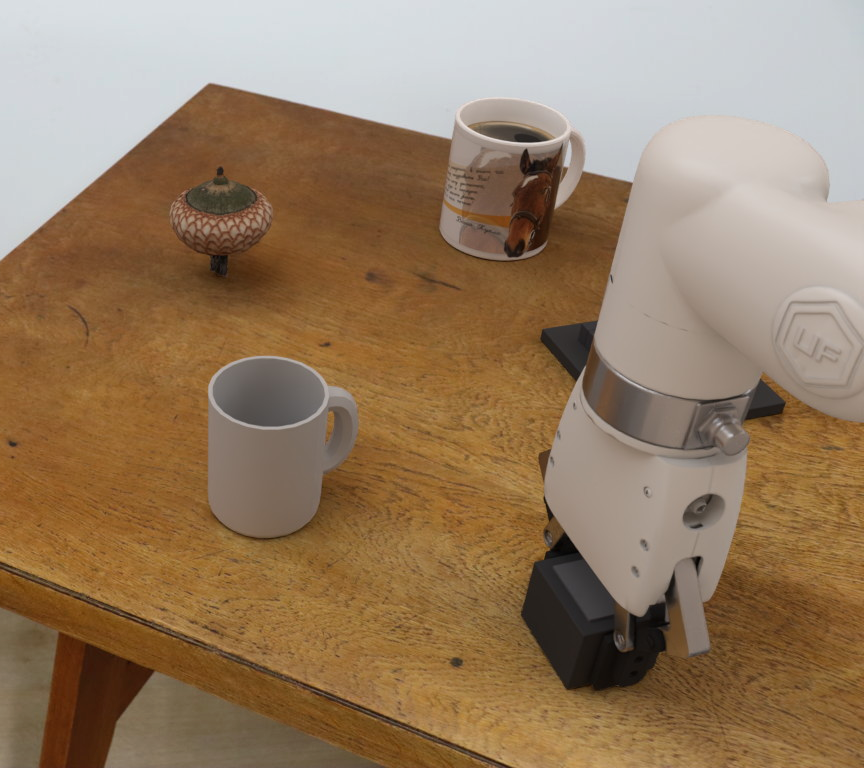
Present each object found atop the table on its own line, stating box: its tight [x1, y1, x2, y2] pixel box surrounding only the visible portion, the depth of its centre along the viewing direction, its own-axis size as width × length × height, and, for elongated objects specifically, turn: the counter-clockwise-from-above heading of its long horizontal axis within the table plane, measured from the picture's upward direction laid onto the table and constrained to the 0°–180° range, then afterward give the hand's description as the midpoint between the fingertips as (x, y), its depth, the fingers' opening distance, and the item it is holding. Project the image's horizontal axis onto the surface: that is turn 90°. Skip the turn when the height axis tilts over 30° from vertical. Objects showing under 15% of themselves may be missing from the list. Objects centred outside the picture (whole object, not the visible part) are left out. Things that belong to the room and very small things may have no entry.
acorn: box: [168, 165, 274, 278], centre depth 90 cm, size 8×8×10 cm
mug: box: [438, 96, 587, 262], centre depth 97 cm, size 10×12×11 cm
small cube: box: [520, 552, 660, 690], centre depth 62 cm, size 6×6×5 cm
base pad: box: [539, 319, 787, 421], centre depth 83 cm, size 13×13×2 cm
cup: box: [207, 355, 360, 539], centre depth 69 cm, size 7×10×9 cm
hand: (587, 635), depth 63 cm, fingers closed on small cube, 5 cm apart
